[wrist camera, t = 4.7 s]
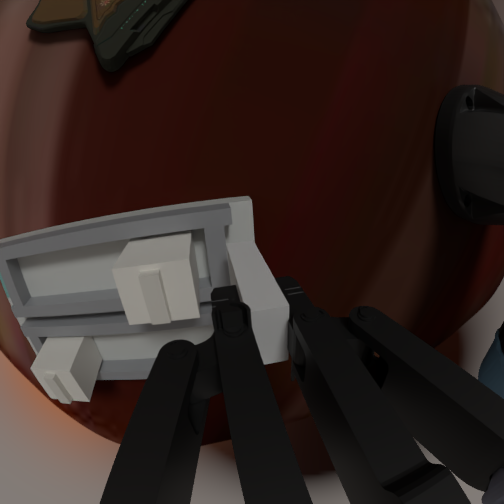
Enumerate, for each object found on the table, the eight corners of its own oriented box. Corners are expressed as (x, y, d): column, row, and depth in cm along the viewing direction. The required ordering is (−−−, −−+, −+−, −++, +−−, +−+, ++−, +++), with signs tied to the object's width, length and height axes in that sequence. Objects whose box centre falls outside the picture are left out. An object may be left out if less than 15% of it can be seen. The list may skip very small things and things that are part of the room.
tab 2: (191, 227, 17) (188, 264, 12) (198, 274, 19) (200, 324, 14) (132, 236, 17) (108, 274, 12) (143, 282, 18) (127, 331, 13)
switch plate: (247, 195, 19) (256, 205, 16) (258, 341, 24) (265, 364, 21) (-2, 239, 16) (-21, 253, 13) (48, 357, 21) (39, 376, 18)
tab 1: (88, 328, 19) (67, 376, 14) (102, 358, 20) (88, 407, 15) (51, 329, 18) (27, 373, 13) (67, 358, 20) (49, 403, 14)
